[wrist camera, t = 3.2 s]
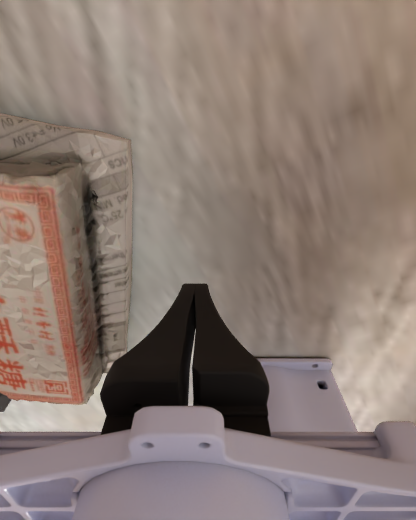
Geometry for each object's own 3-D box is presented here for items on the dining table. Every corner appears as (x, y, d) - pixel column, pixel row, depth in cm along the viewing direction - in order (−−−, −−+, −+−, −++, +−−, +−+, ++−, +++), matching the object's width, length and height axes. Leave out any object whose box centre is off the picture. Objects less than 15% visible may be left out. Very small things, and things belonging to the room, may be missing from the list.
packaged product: (114, 419, 19) (-36, 405, 19) (131, 361, 23) (8, 348, 23) (107, 152, 10) (-198, 100, 9) (136, 134, 14) (-72, 97, 13)
